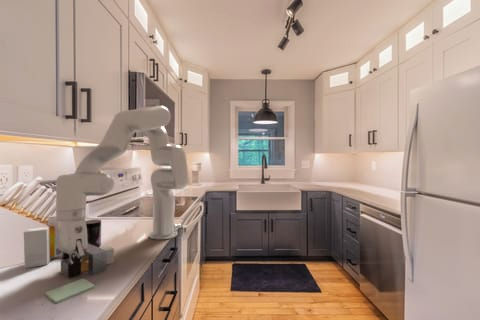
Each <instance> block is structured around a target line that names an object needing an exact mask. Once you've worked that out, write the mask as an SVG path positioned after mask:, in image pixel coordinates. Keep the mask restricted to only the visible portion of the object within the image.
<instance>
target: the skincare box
mask: <svg viewBox="0 0 480 320" xmlns="http://www.w3.org/2000/svg"><path fill="white" fill-rule="evenodd" d="M23 249H24V250H23V253H24V255H23V257H24V268H25V269H29V268H35V267H40V266H46V265H48V264H49V263H50V261H51V258H50V233H49V227H48V226H43V227H33V228H27V229H26V230H25V231H24V232H23Z"/></svg>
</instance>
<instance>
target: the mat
mask: <svg viewBox="0 0 480 320" xmlns="http://www.w3.org/2000/svg"><path fill="white" fill-rule="evenodd" d="M94 288H96V285H95V284H94V283H92V282H89V281H88V280H86V279H85V278H81V279H78V280H75V281H73V282H70V283H68V284H67V283H66V284H65V285H61V286H60V287H57V288H54V289H51V290H49V291H46V292H45V293H44V295H45V296H46V295H47V296H48V297H47V296H46V297H47V298H49V299H50V300H51V299H52V300H53V302H54V303H55V304H59V303H61V302H63V301H65V300H68V299H70V298H73V297H75V296H77V295H80V294H83V293H85V292H87V291H89V289H90V290H91V289H94ZM84 291H85V292H84ZM82 292H83V293H82ZM52 300H51V301H52Z"/></svg>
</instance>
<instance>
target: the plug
mask: <svg viewBox="0 0 480 320" xmlns="http://www.w3.org/2000/svg"><path fill="white" fill-rule="evenodd" d="M100 248H101V249H104V250H106V265H109V264H112V263H114V262H115V248H113V247H112V246H109V245H107V246H104V247H100ZM73 258H74V256H73ZM69 264H70V259H69V258H68V259H64V260H62V266H61V265H60V274H61V276H62V277H65V278H66V279H70V278H69V277H68V265H69ZM86 271H88V260H87V261H84V262H81V273H83V272H86Z"/></svg>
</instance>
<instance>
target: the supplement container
mask: <svg viewBox="0 0 480 320" xmlns="http://www.w3.org/2000/svg"><path fill="white" fill-rule="evenodd" d="M85 221H86V226H87V241H88V243H89V244H91V245H94V246H96V247H99V248H101V245H102V220H101V219H89V220H85Z"/></svg>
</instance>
